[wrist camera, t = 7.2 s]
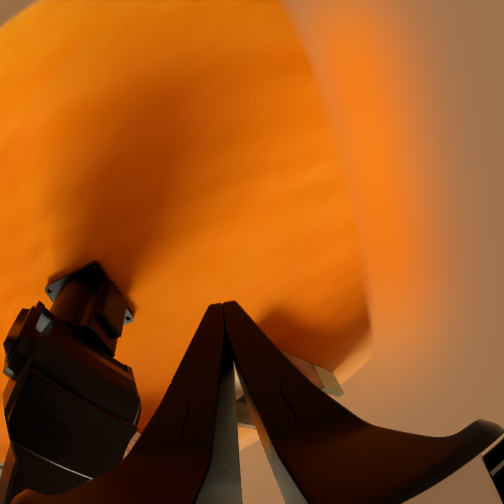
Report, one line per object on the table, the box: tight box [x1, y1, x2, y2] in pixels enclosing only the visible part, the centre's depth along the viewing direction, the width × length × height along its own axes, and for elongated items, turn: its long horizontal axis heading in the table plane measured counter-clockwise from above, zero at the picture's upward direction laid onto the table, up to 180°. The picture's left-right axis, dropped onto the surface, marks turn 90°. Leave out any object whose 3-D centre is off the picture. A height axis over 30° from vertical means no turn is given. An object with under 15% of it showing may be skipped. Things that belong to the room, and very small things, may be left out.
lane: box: [233, 349, 325, 430], centre depth 29 cm, size 11×11×4 cm
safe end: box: [313, 364, 344, 397], centre depth 33 cm, size 4×11×4 cm, turn 138°
